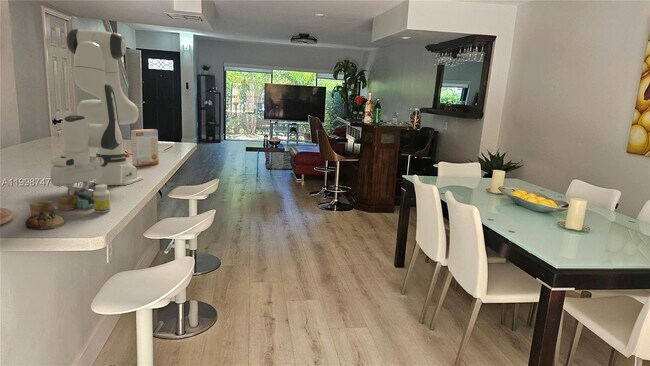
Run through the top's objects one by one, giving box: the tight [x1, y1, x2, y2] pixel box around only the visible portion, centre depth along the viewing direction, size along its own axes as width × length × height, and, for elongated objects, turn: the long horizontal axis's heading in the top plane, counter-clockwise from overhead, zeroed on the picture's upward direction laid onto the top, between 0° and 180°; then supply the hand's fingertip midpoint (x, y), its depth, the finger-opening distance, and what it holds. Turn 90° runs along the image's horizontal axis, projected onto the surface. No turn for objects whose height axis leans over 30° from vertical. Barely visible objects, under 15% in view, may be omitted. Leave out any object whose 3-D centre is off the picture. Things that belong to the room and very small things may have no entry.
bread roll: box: [25, 212, 65, 230], centre depth 140 cm, size 11×11×5 cm
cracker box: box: [130, 128, 160, 167], centre depth 250 cm, size 14×6×21 cm, turn 144°
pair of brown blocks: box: [29, 194, 79, 216], centre depth 154 cm, size 16×4×4 cm, turn 162°
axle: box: [66, 186, 96, 200], centre depth 164 cm, size 4×12×4 cm, turn 72°
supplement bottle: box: [93, 184, 111, 213], centre depth 158 cm, size 5×5×10 cm
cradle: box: [76, 197, 94, 210], centre depth 165 cm, size 10×10×3 cm
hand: (78, 193), depth 165 cm, fingers closed on axle, 4 cm apart
